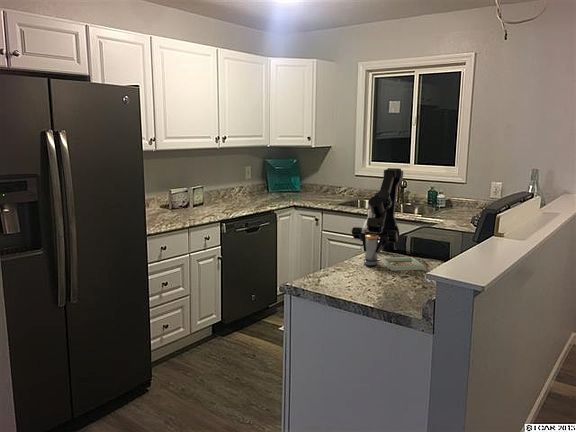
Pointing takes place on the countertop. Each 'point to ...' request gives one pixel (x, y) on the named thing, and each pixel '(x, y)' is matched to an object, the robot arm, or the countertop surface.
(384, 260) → the bin
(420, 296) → the countertop surface
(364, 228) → the bath foam
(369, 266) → the stud
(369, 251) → the grey and gold cylinder
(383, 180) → the robot arm
